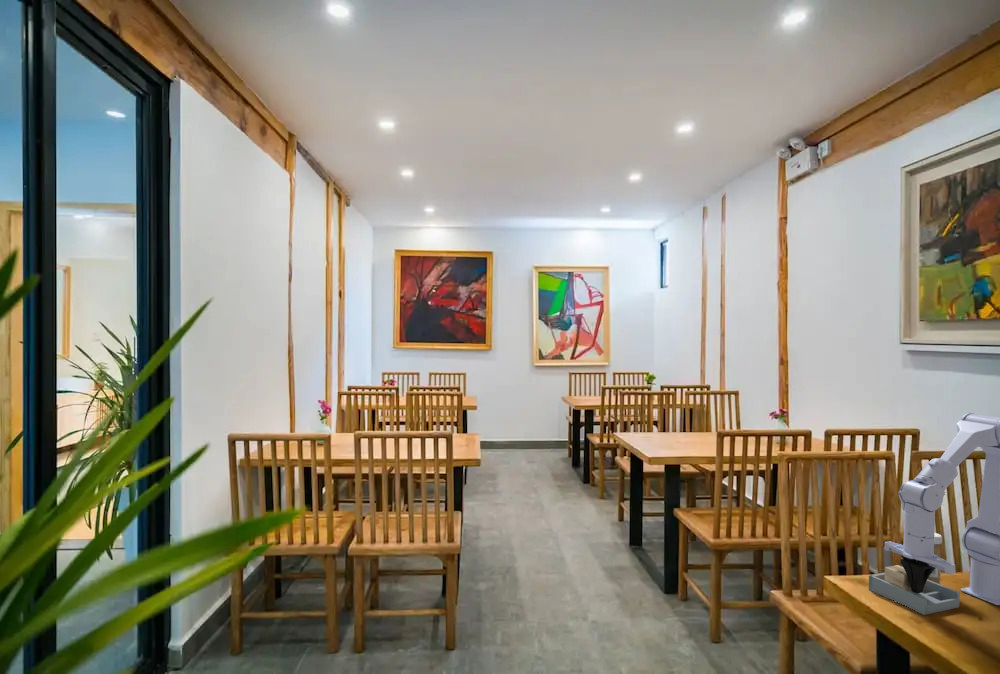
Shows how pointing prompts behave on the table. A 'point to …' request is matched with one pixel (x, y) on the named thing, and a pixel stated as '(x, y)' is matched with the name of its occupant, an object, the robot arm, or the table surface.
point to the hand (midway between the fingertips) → (916, 591)
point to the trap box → (917, 595)
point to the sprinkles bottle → (937, 551)
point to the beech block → (897, 577)
